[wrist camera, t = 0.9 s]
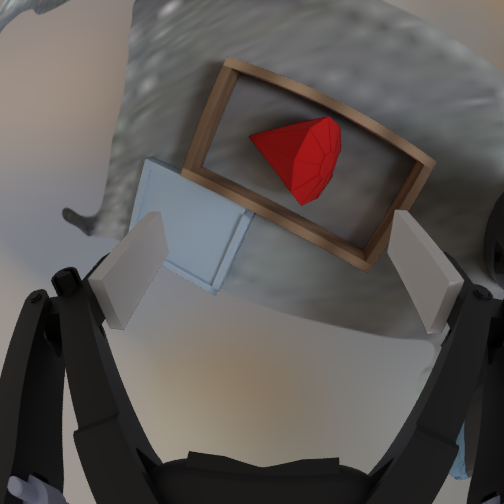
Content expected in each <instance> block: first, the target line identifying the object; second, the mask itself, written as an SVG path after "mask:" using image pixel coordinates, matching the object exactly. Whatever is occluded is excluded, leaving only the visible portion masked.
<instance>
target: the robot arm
mask: <svg viewBox="0 0 504 504" xmlns="http://www.w3.org/2000/svg"><path fill="white" fill-rule="evenodd" d="M387 253H388V255H389V257H390V259H391V261H392V262H393V264H394V266H395V268H396V270H397V272H398V273H399V275H400V277H401V279H402V281H403V283H404V285H405V287H406V289H407V291H408V293H409V295H410V297H411V299H412V301H413V303H414V305H415V307H416V309H417V311H418V313H419V316H420V318H421V320H422V322H423V324H424V327H425V329H426V331H427V333H428V334H432V333H440V332H442V331H443V329H444V327H445V325H446V322H447V323H448V325H449V327H450V329H449V331H448V333H447V335H446V337H445V339H444V341H443V343H442V345H441V346H442V349H441V351H440V353H439V356H438V358H437V360H436V363H435V365H434V367H433V369H432V372H431V374H430V376H429V378H428V380H427V382H426V384H425V386H424V388H423V390H422V392H421V394H420V396H419V398H418V400H417V402H416V404H415V406H414V407H413V409H412V411H411V413H410V415H409V416H408V418H407V420H406V422H405V423H404V425H403V427H402V428H401V430H400V432H399V433H398V435H397V437H396V438H395V440H394V441H393V443H392V444H391V446H390V448H389V449H388V450H387V452H386V453H385V455H384V456H383V457H382V459H381V460H380V461H379V462H378V463H377V465H376V466H375V467H374V468H373V469H372V471H371V472H370V473H369V474H368V475H367V474H366V473H364V472H362V471H360V470H357V469H354V468H352V467H348V466H344V465H339V458H324V459H303V460H298V461H294V462H290V463H285V464H280V465H275V466H270V467H257V466H254V465H250V464H247V463H244V462H241V461H238V460H234V459H231V458H228V457H225V456H219V455H212V454H204V453H198V452H192V451H189V453H188V457H187V458H186V459H179V460H174V461H170V462H166V463H164V464H163V463H162V461H161V460H160V458H159V457H158V456H157V454H156V453H155V451H154V450H153V448H152V447H151V445H150V443H149V441H148V439H147V437H146V435H145V433H144V431H143V428H142V427H141V424H140V422H139V420H138V418H137V416H136V413H135V411H134V409H133V407H132V404H131V402H130V400H129V397H128V395H127V392H126V390H125V388H124V385H123V382H122V380H121V377H120V375H119V372H118V369H117V367H116V364H115V361H114V358H113V355H112V352H111V349H110V346H109V343H108V340H107V337H106V334H105V331H104V328H103V326H102V323H103V321H104V320H105V319H106V321H107V323H108V325H109V327H110V328H112V329H118V330H124V328H125V327H126V325H127V323H128V321H129V319H130V318H131V316H132V314H133V312H134V311H135V309H136V307H137V305H138V304H139V302H140V300H141V298H142V297H143V295H144V293H145V292H146V290H147V288H148V287H149V285H150V283H151V282H152V280H153V278H154V277H155V275H156V273H157V272H158V270H159V268H160V267H161V265H162V264H163V262H164V260H165V259H166V257H167V255H168V254H169V250H168V245H167V240H166V236H165V231H164V226H163V221H162V216H161V211H153V212H148V213H147V214H146V215H145V216H144V217H143V218H142V219H141V220H140V221H139V222H138V223H137V224H136V225H135V226H134V228H133V229H132V230H131V231H130V232H129V233H128V234H127V235H126V236H125V237H124V238H123V239H122V240H121V241H120V243H119V244H118V245H117V246H116V247H115V248H114V249H113V250H112V252H111V253H108V254H107V255H105V256H104V257H102V258H101V259H100V260H99V262H98V263H97V265H95V266H94V267H93V269H92V270H91V271H90V272H89V273H88V274H87V275H86V277H85V278H84V279H83V280H82V281H81V278H80V276H79V274H78V271H77V269H76V268H74V267H68V268H64V269H62V270H60V271H58V272H57V273H56V274H55V275H54V276H53V277H52V280H51V282H52V284H53V286H54V288H55V290H56V293H57V295H58V296H57V297H51V298H49V296H48V294H47V292H46V291H45V290H43V289H40V290H37V291H33V292H32V293H31V294H30V295H29V296H28V297H27V299H26V300H25V302H24V305H23V307H22V310H21V313H20V315H19V318H18V321H17V323H16V326H15V329H14V332H13V335H12V338H11V341H10V345H9V348H8V351H7V354H6V358H5V362H4V365H3V369H2V373H1V377H0V504H69V503H67V502H66V500H65V498H64V496H63V485H64V468H63V448H62V410H63V408H62V407H63V390H64V377H65V367H66V373H67V378H68V383H69V389H70V393H71V398H72V402H73V407H74V411H75V415H76V419H77V423H78V430H76V431H74V434H73V437H74V442H75V445H76V449H77V452H78V455H79V458H80V461H81V464H82V467H83V470H84V473H85V476H86V479H87V481H88V484H89V486H90V489H91V491H92V494H93V496H94V499H95V501H96V503H97V504H432V503H433V501H434V499H435V498H436V496H437V494H438V492H439V491H440V489H441V487H442V485H443V483H444V481H445V479H446V477H447V476H448V474H450V476H452V477H454V478H455V479H456V480H463V479H468V478H470V477H471V476H472V478H471V482H470V487H469V493H468V498H467V504H504V299H503V300H499V299H494V298H493V295H492V294H491V292H490V291H489V290H488V289H487V288H485V287H483V286H481V285H478V284H473V283H472V282H471V280H470V279H469V278H468V276H467V275H466V274H465V272H464V271H463V270H462V268H461V267H460V266H459V265H458V263H457V262H456V261H455V259H454V258H453V257H452V256H450V255H449V254H447V253H446V252H442V251H441V249H440V248H439V247H438V246H437V245H436V243H435V242H434V241H433V240H432V239H431V237H430V236H429V235H428V234H427V233H426V232H425V230H424V229H423V228H422V227H421V226H420V225H419V223H418V222H417V221H416V220H415V219H414V218H413V217H412V216H411V215H410V213H409V212H408V211H407V210H395V212H394V218H393V224H392V230H391V235H390V241H389V246H388V251H387ZM484 255H485V261H486V265H487V268H488V271H489V273H490V275H491V276H492V278H493V279H494V280H495V281H496V283H497V284H498V285H499V286H500V287H501V288H502V289H503V290H504V193H503V194H502V196H501V197H500V198H499V200H498V201H497V203H496V205H495V207H494V209H493V211H492V213H491V216H490V218H489V221H488V225H487V229H486V234H485V242H484Z"/></svg>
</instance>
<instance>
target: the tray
mask: <svg viewBox="0 0 504 504" xmlns="http://www.w3.org/2000/svg"><path fill="white" fill-rule="evenodd" d="M181 172H182V170H179V169H177V168H175V167H173V166H171V165H169V164H166V163H164V162H162V161H160V160H158V159H155V158H153V157H150V158H147V159H145V162H144V166H143V170H142V174H141V178H140V182H139V186H138V190H137V194H136V198H135V202H134V207H133V212H132V216H131V221H130V226H129V231H128V233H129V232H130V231H131V230H132V229H133V228H134V226H135V225H136V224H137V223H138V222H139V221H140V220H141V219H142V218H143V217H144V216H145V215H146V214H147V213H148V212H153V211H161V216H162V221H163V226H164V231H165V236H166V240H167V245H168V250H169V254H168V255H167V257H166V259H165V260H164V262H163V264H162V265H163V266H164V267H166V268H168V269H169V270H171V271H173V272H175V273H176V274H178V275H180V276H182V277H183V278H185V279H187V280H189V281H190V282H192V283H194V284H196V285H198V286H199V287H201V288H203V289H205V290H207V291H208V292H210V293H212V294H214V295H217V293H218V292H219V291H220V289H221V286H222V284H223V282H224V280H225V278H226V275H227V273H228V271H229V269H230V267H231V264H232V262H233V260H234V258H235V256H236V254H237V251H238V249H239V247H240V245H241V243H242V241H243V238H244V236H245V234H246V232H247V230H248V228H249V225H250V223H251V221H252V219H253V217H254V215H255V212H253V211H251V210H249V209H247V208H245V207H243V206H241V205H239V204H237V203H235V202H233V201H231V200H229V199H227V198H225V197H223V196H221V195H219V194H217V193H215V192H213V191H211V190H209V189H207V188H204V187H202V186H200V185H198V184H196V183H194V182H192V181H190V180H188V179H186V178H184V177H182V176H180V175H181Z"/></svg>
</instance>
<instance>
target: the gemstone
mask: <svg viewBox="0 0 504 504" xmlns="http://www.w3.org/2000/svg"><path fill="white" fill-rule="evenodd" d="M332 120H333V119H332V118H331V117H329V116H327V117H323V118H318V119H313V120H309V121H305V122H300V123H296V124H292V125H288V126H284V127H280V128H276V129H273V130H269V131H265V132H262V133H260V134H259V133H258V134H254V135H251V136H249V138H250V139H251V140H252V142H253V143H254V144H255V146H256V147H257V148H258V149H259V151H260V152H261V153H262V155H263V156H264V157H265V158H266V160H267V161H268V162H269V164H270V165H271V166H272V168H273V169H274V170H275V172H276V173H277V174H278V176H279V177H280V178H281V180H282V181H283V182H284V184H285V185H286V186H287V188H288V189H289V190H290V192H291V193H292V194H293V196H294V197H295V198H296V200H297V201H298V202H299V203H300V205H301V204H302V205H304V204H306V203H308V201H309V202H310V200H311V201H313V200H315V199H317V198H318V197H319V195H320V194H321V193H320V192H322V191H323V190H324V188H325V187H326V185H327V184H328V183H327V182H329V181H330V180H331V178H332V177H331V176H332V173H333V170H334V167H335V164H336V161H337V158H338V155H339V153H340V151H341V130H340V128H339V127H340V126H339V125H338V124H337V123H336V122H335V121H334V120H333V121H334V122H335V123H336V124H335V123H334V122H333V121H332ZM339 131H340V132H339ZM329 179H330V180H329ZM324 186H325V187H324ZM322 189H323V190H322ZM317 196H318V197H317ZM316 197H317V198H316ZM314 198H315V199H314ZM312 199H313V200H312ZM303 203H304V204H303ZM302 205H301V206H302Z"/></svg>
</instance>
